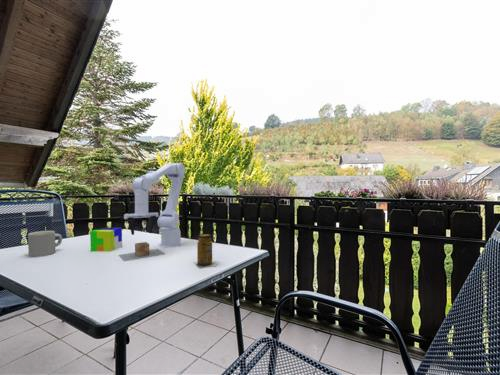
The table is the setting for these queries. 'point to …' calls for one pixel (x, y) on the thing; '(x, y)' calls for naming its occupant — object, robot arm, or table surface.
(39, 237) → the coffee mug
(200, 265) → the condiment
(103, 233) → the puzzle toy
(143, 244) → the walnut block
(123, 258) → the gray tile
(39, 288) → the table surface
